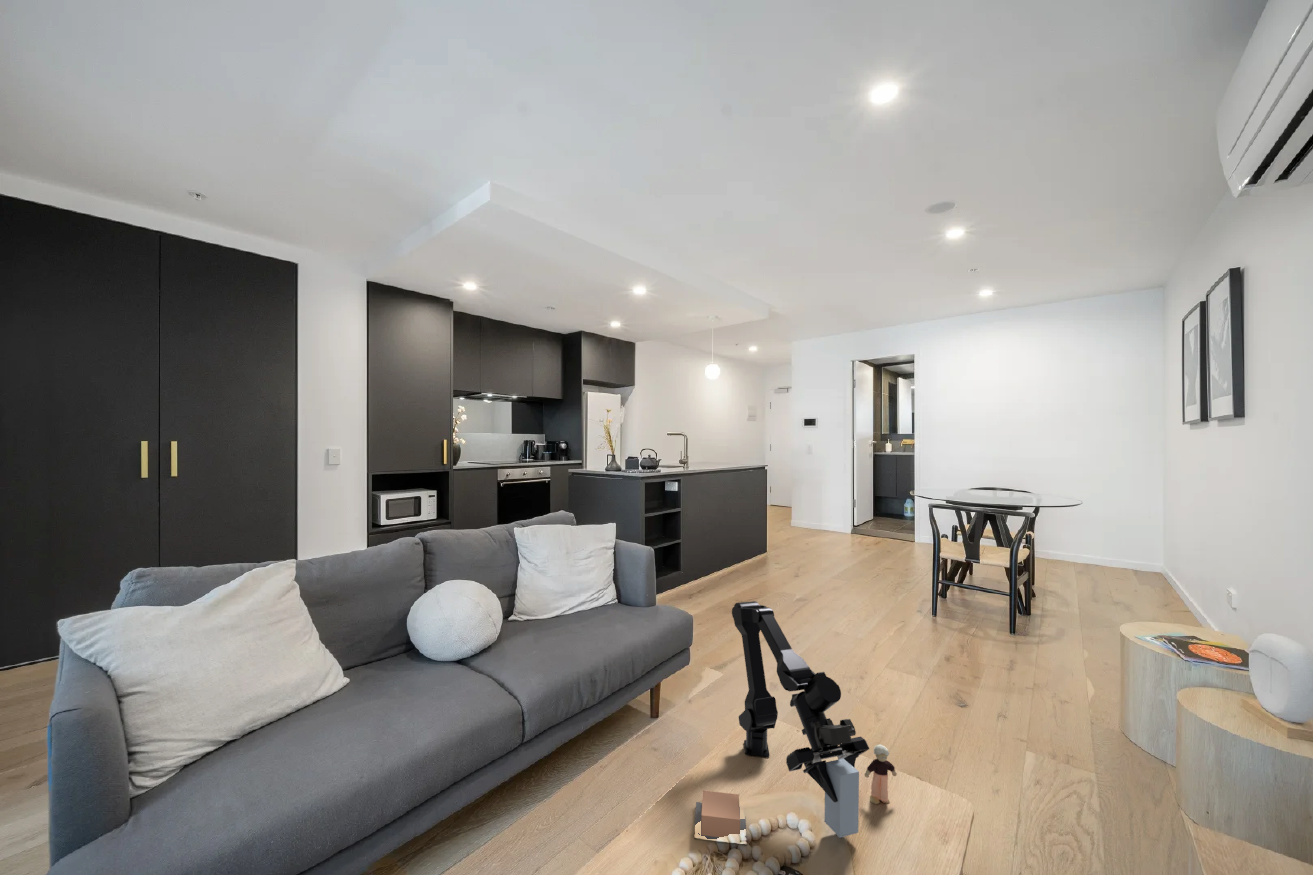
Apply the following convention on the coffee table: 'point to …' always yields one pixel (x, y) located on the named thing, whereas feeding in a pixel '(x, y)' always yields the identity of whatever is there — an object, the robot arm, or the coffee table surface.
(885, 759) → the grandmother figurine
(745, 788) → the coffee table surface
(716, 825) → the tower base
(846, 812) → the slate column brick
